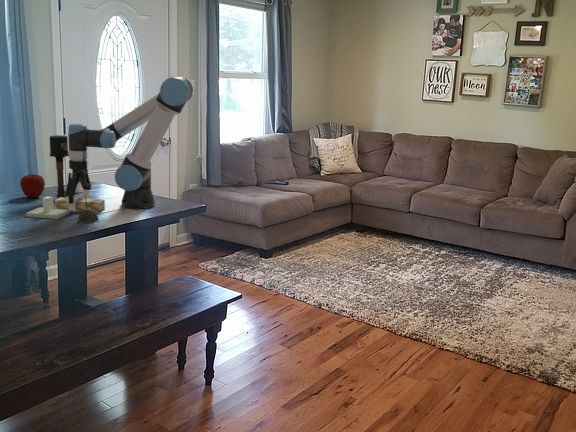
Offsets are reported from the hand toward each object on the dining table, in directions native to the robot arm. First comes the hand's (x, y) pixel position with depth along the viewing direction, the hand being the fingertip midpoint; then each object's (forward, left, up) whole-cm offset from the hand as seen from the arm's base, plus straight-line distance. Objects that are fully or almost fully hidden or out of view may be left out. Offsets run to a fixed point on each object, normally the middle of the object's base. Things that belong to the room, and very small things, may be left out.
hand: (79, 207), depth 264 cm
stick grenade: (+17, -17, -2) cm, 24 cm away
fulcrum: (+9, +11, -1) cm, 14 cm away
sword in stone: (-11, +16, -2) cm, 20 cm away
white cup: (+18, -36, -2) cm, 40 cm away
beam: (0, 0, -2) cm, 2 cm away
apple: (+31, -17, -2) cm, 35 cm away
